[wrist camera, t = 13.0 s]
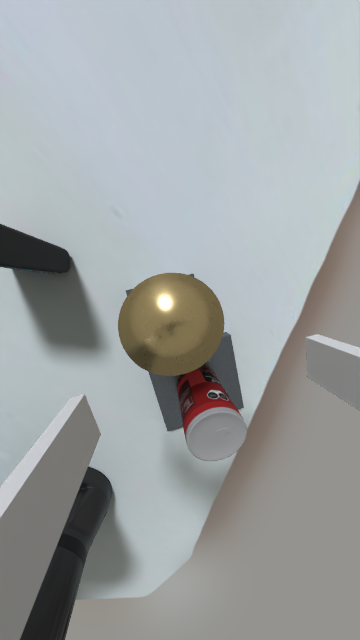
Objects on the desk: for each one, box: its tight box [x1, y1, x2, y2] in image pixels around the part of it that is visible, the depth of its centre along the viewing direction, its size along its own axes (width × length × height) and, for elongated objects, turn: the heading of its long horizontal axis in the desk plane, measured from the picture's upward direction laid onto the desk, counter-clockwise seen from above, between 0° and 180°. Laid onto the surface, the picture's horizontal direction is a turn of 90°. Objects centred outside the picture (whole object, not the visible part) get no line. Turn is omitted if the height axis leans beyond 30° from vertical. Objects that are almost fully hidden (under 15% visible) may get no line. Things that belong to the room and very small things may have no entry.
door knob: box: [118, 273, 224, 376], centre depth 19 cm, size 9×9×10 cm
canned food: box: [177, 369, 247, 461], centre depth 26 cm, size 8×8×11 cm
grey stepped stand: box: [126, 274, 244, 431], centre depth 27 cm, size 16×28×10 cm, turn 14°
